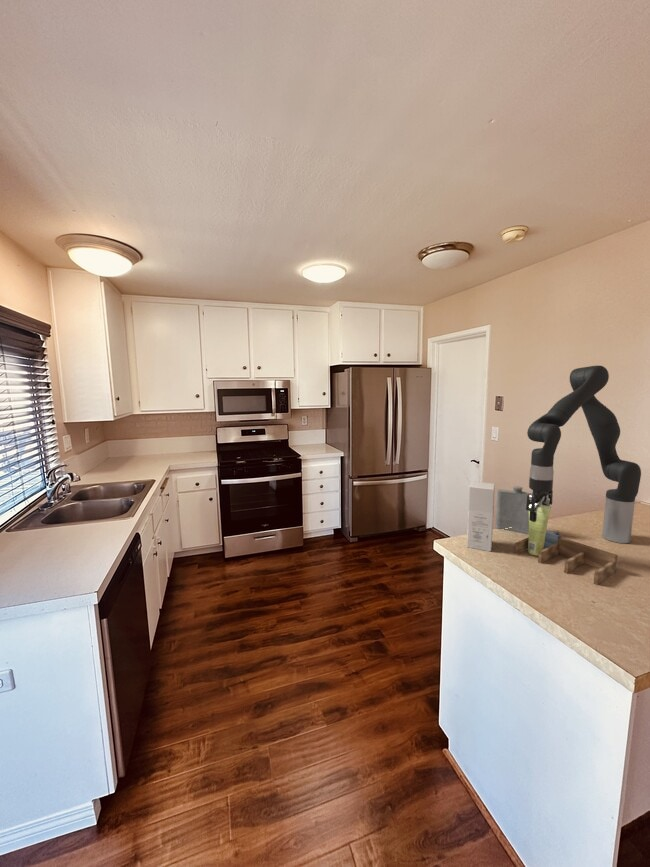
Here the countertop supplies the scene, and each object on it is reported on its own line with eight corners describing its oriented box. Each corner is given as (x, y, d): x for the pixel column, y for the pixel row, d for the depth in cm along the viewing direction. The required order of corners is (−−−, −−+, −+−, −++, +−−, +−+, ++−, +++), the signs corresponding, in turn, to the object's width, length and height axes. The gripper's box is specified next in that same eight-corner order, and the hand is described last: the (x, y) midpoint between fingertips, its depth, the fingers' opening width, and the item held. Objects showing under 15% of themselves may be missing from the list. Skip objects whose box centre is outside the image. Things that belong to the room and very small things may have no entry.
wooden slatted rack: (535, 543, 144) (536, 524, 143) (616, 571, 121) (618, 548, 120) (514, 552, 136) (515, 532, 135) (597, 584, 113) (599, 560, 112)
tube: (538, 550, 138) (542, 501, 135) (547, 556, 133) (551, 506, 130) (524, 550, 137) (528, 502, 135) (533, 556, 132) (536, 506, 130)
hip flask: (494, 528, 159) (496, 485, 157) (496, 525, 163) (498, 483, 160) (535, 536, 151) (538, 490, 148) (536, 533, 154) (539, 488, 151)
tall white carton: (492, 543, 145) (495, 483, 141) (490, 551, 137) (494, 489, 134) (469, 538, 149) (471, 481, 145) (466, 547, 141) (469, 486, 138)
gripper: (540, 472, 138) (538, 512, 140) (520, 477, 130) (518, 519, 132) (561, 475, 132) (558, 517, 134) (542, 482, 124) (539, 526, 126)
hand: (538, 518), depth 133 cm, fingers open, 8 cm apart
